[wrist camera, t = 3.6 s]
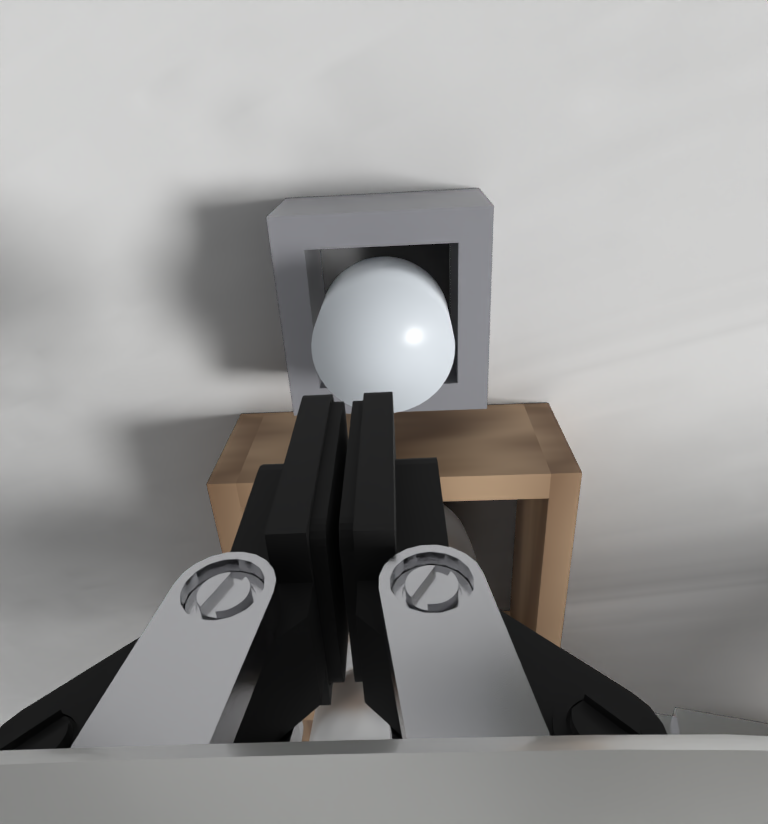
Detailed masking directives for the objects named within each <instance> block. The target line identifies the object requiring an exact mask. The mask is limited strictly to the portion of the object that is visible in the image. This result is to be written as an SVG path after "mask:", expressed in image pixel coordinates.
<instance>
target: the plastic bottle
mask: <svg viewBox="0 0 768 824" xmlns="http://www.w3.org/2000/svg"><path fill="white" fill-rule="evenodd" d="M443 506H444V513H445V521H446V528H447V536H448V543H449V547H451V548H454V549H456V550H459V551H461V552H463V553H466V554H467V555H468V556H469V557H471V558H472V559H473V560H474V561H476V557H475V553H474V550H473V547H472V545H471V542H470V540H469V538H468V535H467V533H466V531H465V529H464V527H463V525H462V523H461V521H460V520H459V519H458V517H457V516H456V515H455V514H454V513H453V511H451V510H450V509H449V508H448V507H446V506H445V505H444V504H443ZM476 562H477V561H476ZM380 739H390V730H389V724H388V723H387V722H385V721H384V720H383V719H382V718H381V717H380V716H379V715H378V714H377V713H376V712H374V711H373V710H372V709H371V708H370V707H369V706H368V705H367V704H366V703H365V701H364V692H363V682H355V680H354V672H353V663H352V655H351V646H350V637H349V635H348V649H347V663H346V676H345V682H343V683H333V688H332V699H331V705H320V706H318V707H317V708H316V709H315V713H314V718H313V724H312V729H311V734H310V739H309V741H342V740H380Z"/></svg>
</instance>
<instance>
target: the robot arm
mask: <svg viewBox="0 0 768 824" xmlns="http://www.w3.org/2000/svg"><path fill="white" fill-rule="evenodd" d="M348 635H349V637H350V646H351V655H352V663H353V672H354V680H355V682H363V692H364V701H365V703H366V704H367V705H368V706H369V707H370V708H371V709H372V710H373V711H374V712H376V713H377V714H378V715H379V716H380V717H381V718H382V719H383V720H384V721H385V722H387V723H388V724H389V730H390V739H380V740H342V741H303V742H302V735H303V722H302V720H303V719H304V718H306V717H307V716H308V715H309V714H310V713H311V712H313V711H314V710H315V709H316V708H317V707H318V706H320V705H331V699H332V688H333V683H343V682H345V676H346V663H347V649H348ZM0 824H768V724H767V723H761V722H755V721H750V720H744V719H738V718H733V717H727V716H721V715H716V714H710V713H704V712H699V711H693V710H687V709H682V708H676V707H675V709H674V713H673V716H669V715H664V714H658V713H654V712H653V710H652V709H651V708H650V707H649V706H648V705H647V704H646V703H644V702H643V701H642V700H641V699H639V698H638V697H637V696H636V695H634V694H633V693H632V692H630V691H628V690H627V689H625V688H624V687H622V686H620V685H619V684H617V683H616V682H614V681H613V680H611V679H609V678H608V677H606V676H605V675H603V674H601V673H600V672H598V671H597V670H595V669H593V668H592V667H590V666H589V665H587V664H585V663H584V662H582V661H581V660H579V659H577V658H576V657H574V656H573V655H571V654H570V653H568V652H566V651H565V650H563V649H562V648H560V647H558V646H557V645H555V644H554V643H552V642H550V641H549V640H547V639H546V638H544V637H542V636H541V635H539V634H538V633H536V632H534V631H533V630H531V629H530V628H528V627H527V626H525V625H523V624H522V623H520V622H519V621H517V620H515V619H514V618H512V617H511V616H509V615H507V614H506V613H504V612H503V611H501V610H499V609H498V607H497V604H496V602H495V600H494V597H493V595H492V592H491V590H490V587H489V585H488V583H487V580H486V578H485V575H484V573H483V571H482V570H481V568H480V567H479V565H478V564H477V562H476V561H474V560H473V559H472V558H471V557H469V556H468V555H467V554H466V553H463V552H461V551H459V550H456V549H454V548H451V547H449V543H448V536H447V528H446V521H445V513H444V506H443V498H442V491H441V483H440V476H439V468H438V461H437V457H431V458H407V459H396V447H395V428H394V408H393V392H372V393H364V395H363V400H362V401H353V402H352V411H351V419H350V428H349V437H348V432H347V421H346V411H345V403H344V401H339V402H334V398H333V395H332V394H327V395H304V396H303V397H302V400H301V404H300V407H299V411H298V414H297V418H296V422H295V425H294V429H293V432H292V436H291V440H290V443H289V447H288V450H287V454H286V458H285V461H284V464H263V465H261V466H260V467H259V469H258V472H257V475H256V478H255V480H254V483H253V486H252V489H251V492H250V495H249V498H248V501H247V504H246V507H245V510H244V513H243V516H242V519H241V522H240V525H239V528H238V531H237V533H236V536H235V539H234V542H233V545H232V548H231V551H230V552H226V553H222V554H218V555H214V556H210V557H208V558H206V559H204V560H202V561H200V562H197V563H196V564H194V565H193V566H191V567H190V568H189V569H187V570H186V571H185V572H183V573H182V575H181V576H180V577H179V578H178V579H177V580H176V582H175V583H174V584H173V586H172V587H171V589H170V590H169V592H168V593H167V595H166V597H165V598H164V600H163V601H162V603H161V605H160V606H159V608H158V609H157V611H156V613H155V614H154V616H153V617H152V619H151V620H150V622H149V624H148V625H147V627H146V628H145V630H144V632H143V633H142V635H141V636H140V637H139V638H138V639H136V640H134V641H133V642H131V643H130V644H128V645H126V646H125V647H123V648H122V649H120V650H118V651H117V652H115V653H114V654H112V655H110V656H109V657H107V658H105V659H104V660H102V661H101V662H99V663H97V664H96V665H94V666H93V667H91V668H89V669H88V670H86V671H85V672H83V673H81V674H80V675H78V676H77V677H75V678H73V679H72V680H70V681H68V682H67V683H65V684H64V685H62V686H60V687H59V688H57V689H56V690H54V691H52V692H51V693H49V694H48V695H46V696H44V697H43V698H41V699H40V700H38V701H36V702H35V703H33V704H31V705H30V706H28V707H27V708H25V709H23V710H22V711H20V712H19V713H18V714H16V715H15V716H14V717H12V718H11V719H10V720H8V721H7V722H6V723H4V724H3V725H2V726H1V727H0Z"/></svg>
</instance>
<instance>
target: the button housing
mask: <svg viewBox="0 0 768 824" xmlns="http://www.w3.org/2000/svg"><path fill="white" fill-rule="evenodd" d="M493 214H494V205H493V204H492V203H491V202H490V201H489V199H488V198H487V197H486V196H485V195H484V193H483V192H482V191H481V190H480V189H479V188H475V189H456V190H436V191H417V192H398V193H378V194H359V195H339V196H320V197H301V198H286V199H285V200H284V201H283V202H282V203H281V204H279V205H278V206H277V207H276V208H275V209H274V210H273V211H272V212H271V213H270V214H269V215H268V216H267V217H266V220H267V227H268V234H269V241H270V248H271V255H272V263H273V270H274V277H275V284H276V291H277V298H278V305H279V313H280V320H281V327H282V334H283V341H284V348H285V356H286V363H287V370H288V377H289V384H290V391H291V398H292V406H293V413H294V416H297V414H298V411H299V407H300V404H301V400H302V397H303V396H304V395H327V394H332V395H333V398H334V402H339V401H341V400H340V399H338V398H337V397H336V396H335V395H334V394H333V393H331V392H330V391H329V389H328V388H327V387H326V386H325V385H324V383H323V382H322V380H321V379H320V377H319V375H318V373H317V371H316V368H315V365H314V362H313V357H312V349H311V342H312V334H313V330H314V326H315V323H316V321H317V318H318V315H319V312H320V309H321V307H322V304H323V301H324V298H325V291H324V281H323V271H322V261H321V251H320V249H336V248H357V247H378V246H399V245H420V244H441V243H450V320H451V325H452V329H453V334H454V339H455V355H454V360H453V365H452V368H451V370H450V373H449V375H448V377H447V379H446V381H445V382H444V383H443V385H442V386H441V387H440V389H439V390H438V391H437V392H436V393H435V394H434V395H433V396H431V397H430V398H429V399H428V400H426V401H425V402H423V403H421V404H420V405H418V406H416V407H413V408H411V409H408V410H405V411H401V412H411V411H439V410H468V409H487V396H488V365H489V335H490V305H491V275H492V244H493ZM345 411H346V414H351V411H352V406H350V405H348V404H346V403H345Z"/></svg>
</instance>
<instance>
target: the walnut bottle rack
mask: <svg viewBox="0 0 768 824" xmlns="http://www.w3.org/2000/svg"><path fill="white" fill-rule="evenodd" d="M296 418H297V416H294V413H293V412H279V413H251V414H241V415H240V417H239V419H238V421H237V423H236V425H235V427H234V429H233V431H232V433H231V435H230V437H229V439H228V441H227V443H226V445H225V447H224V449H223V451H222V454H221V456H220V458H219V460H218V462H217V464H216V466H215V468H214V470H213V472H212V474H211V476H210V478H209V480H208V482H207V484H206V485H207V489H208V493H209V497H210V502H211V506H212V510H213V515H214V519H215V523H216V528H217V532H218V536H219V540H220V545H221V549H222V553H226V552H230V551H231V548H232V545H233V542H234V539H235V536H236V533H237V531H238V528H239V525H240V522H241V519H242V516H243V513H244V510H245V507H246V504H247V501H248V498H249V495H250V492H251V489H252V486H253V483H254V480H255V478H256V475H257V472H258V469H259V467H260V466H261V465H263V464H284V461H285V458H286V454H287V450H288V447H289V443H290V440H291V436H292V432H293V429H294V425H295V422H296ZM350 419H351V414H346V421H347V432H348V437H349V428H350ZM394 428H395V447H396V459H407V458H431V457H437V461H438V468H439V476H440V483H441V491H442V498H443V501H477V500H511V499H517V508H516V523H515V539H514V554H513V569H512V585H511V600H510V611H503V612H504V613H506V614H507V615H509V616H511V617H512V618H514V619H515V620H517V621H519V622H520V623H522V624H523V625H525V626H527V627H528V628H530V629H531V630H533V631H534V632H536V633H538V634H539V635H541V636H542V637H544V638H546V639H547V640H549V641H550V642H552V643H554V644H555V645H557V646H558V647H560V645H561V637H562V629H563V621H564V613H565V605H566V597H567V589H568V581H569V573H570V565H571V557H572V549H573V541H574V533H575V525H576V517H577V509H578V501H579V493H580V485H581V477H582V472H581V470H580V468H579V466H578V463H577V461H576V459H575V457H574V455H573V453H572V451H571V449H570V447H569V445H568V443H567V441H566V438H565V436H564V434H563V432H562V430H561V428H560V426H559V424H558V422H557V420H556V418H555V416H554V414H553V411H552V409H551V407H550V405H549V403H530V404H502V405H487V409H468V410H439V411H411V412H396V413H394ZM314 713H315V710H314V711H313V712H311V713H310V714H309V715H308V716H307V717H306V718H304V719H303V720H302V722H303V735H302V742H303V741H309V739H310V734H311V729H312V724H313V718H314Z"/></svg>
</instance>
